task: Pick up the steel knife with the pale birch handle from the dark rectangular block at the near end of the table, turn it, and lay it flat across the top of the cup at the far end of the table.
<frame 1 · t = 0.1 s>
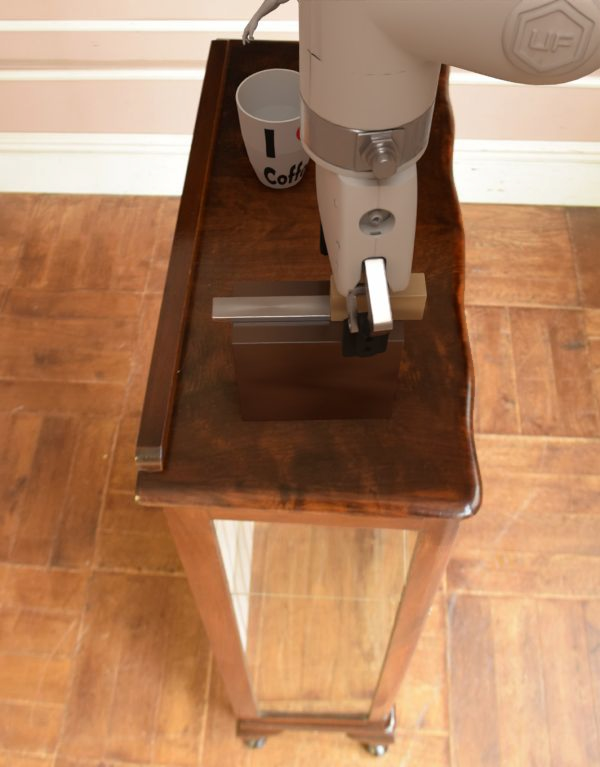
hand: (351, 299, 59), 13 cm above the table, tool pointing down, fingers open, 9 cm apart
knife: (316, 310, 60), point 12 cm above the table, touching dark rectangular block
dark rectangular block: (315, 390, 70), on the table
cup: (280, 173, 85), on the table
figurine: (324, 109, 90), on the table
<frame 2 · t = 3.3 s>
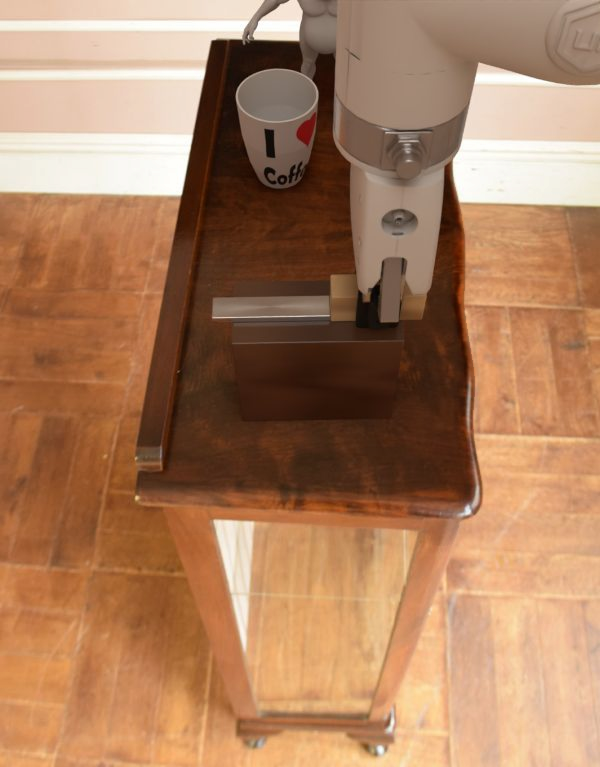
hand: (375, 308, 60), 12 cm above the table, tool pointing down, fingers closed on knife, 2 cm apart
knife: (316, 310, 60), point 12 cm above the table, touching gripper, dark rectangular block
everything else where it was.
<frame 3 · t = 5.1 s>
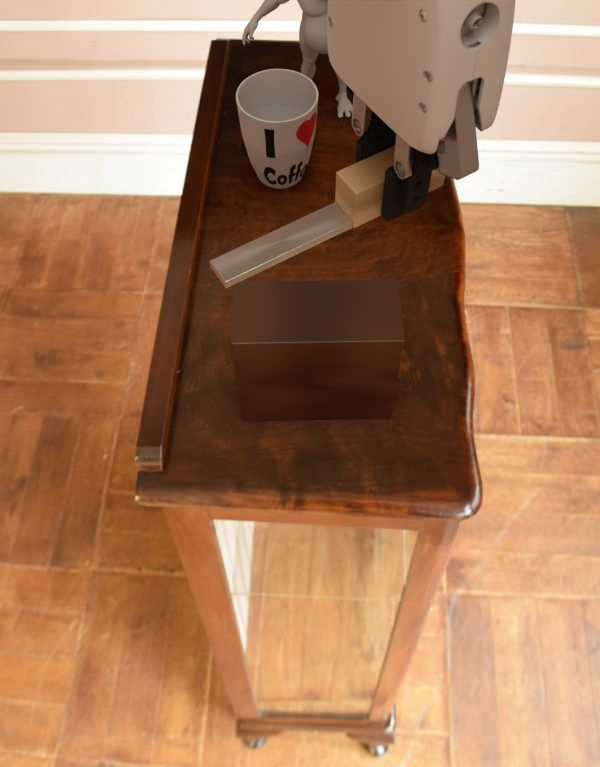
hand: (390, 194, 49), 24 cm above the table, tool pointing down, fingers closed on knife
knife: (330, 224, 48), point 24 cm above the table, touching gripper
everything else where it was.
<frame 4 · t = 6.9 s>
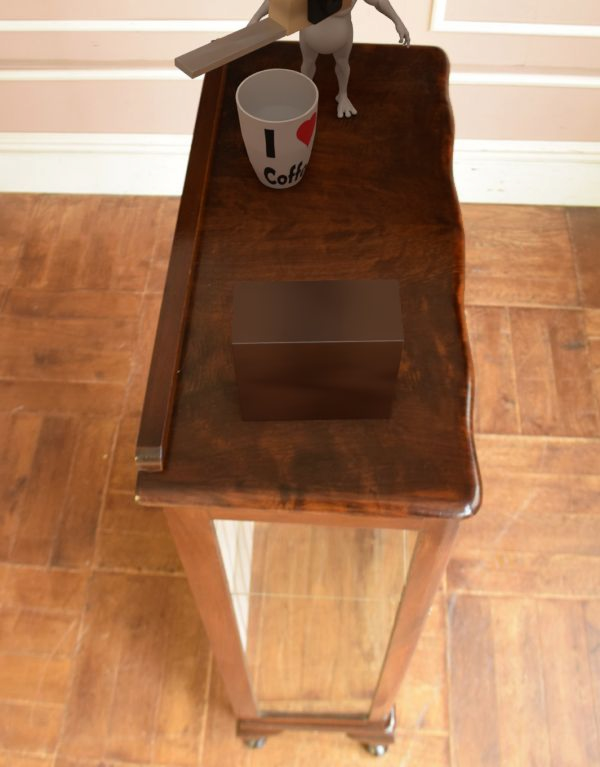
hand: (311, 6, 59), 25 cm above the table, tool pointing down, fingers closed on knife
knife: (267, 34, 58), point 24 cm above the table, tilted 6°, touching gripper
everything else where it was.
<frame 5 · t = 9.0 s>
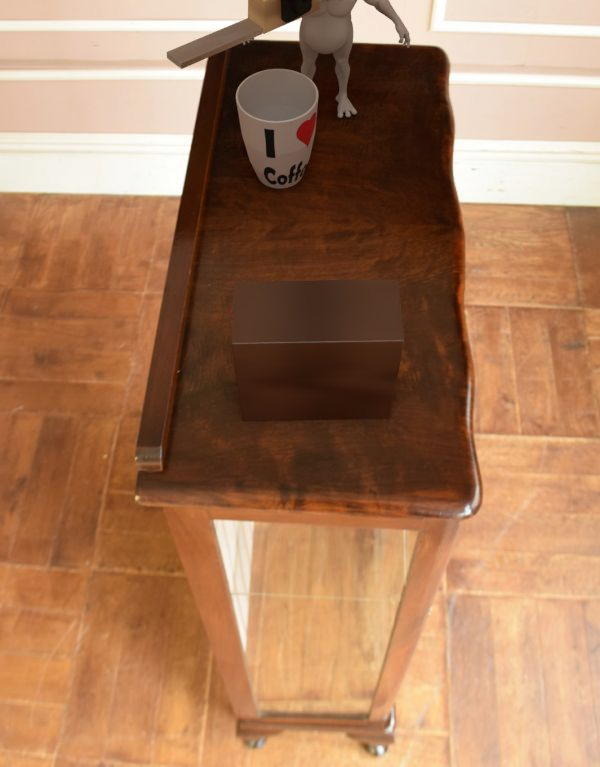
hand: (285, 7, 69), 18 cm above the table, tool pointing down, fingers closed on knife
knife: (246, 32, 68), point 18 cm above the table, tilted 6°, touching gripper
everything else where it was.
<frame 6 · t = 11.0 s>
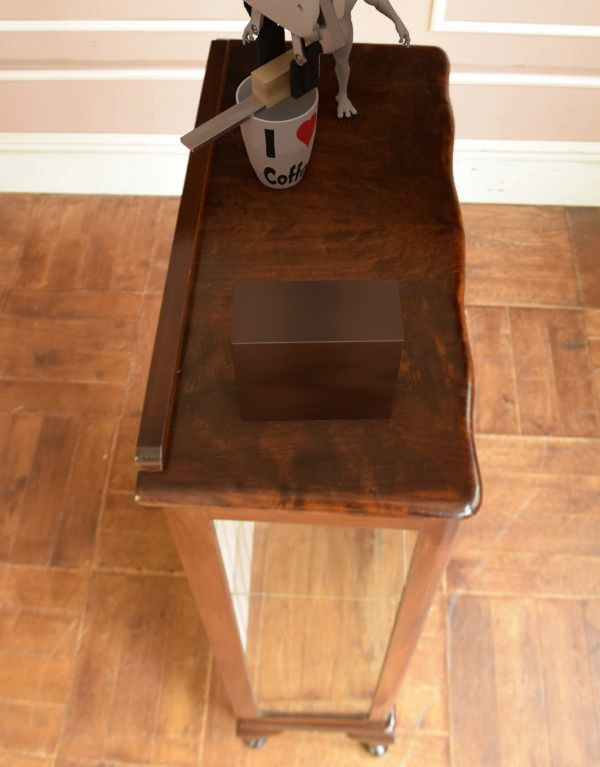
hand: (288, 78, 76), 11 cm above the table, tool pointing down, fingers open, 4 cm apart
knife: (252, 108, 75), point 10 cm above the table, touching cup
cup: (280, 173, 85), on the table, touching knife
everything else where it was.
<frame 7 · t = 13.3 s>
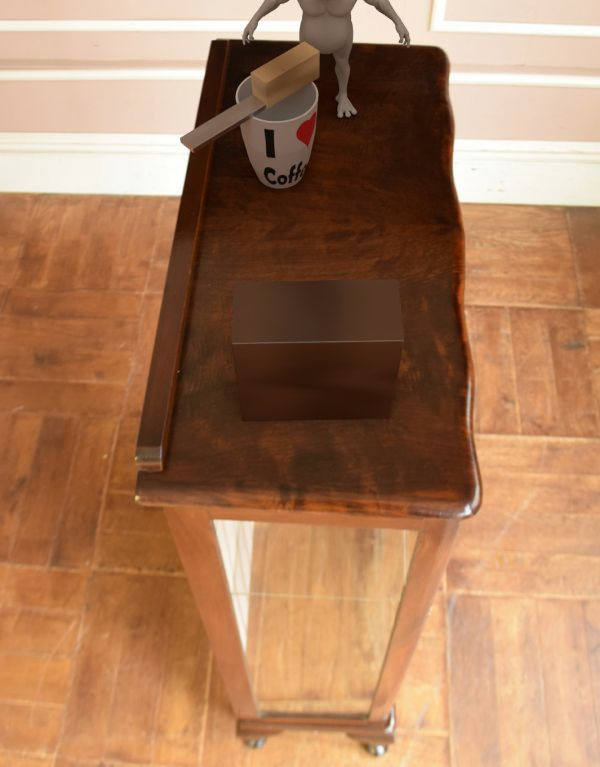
nothing on the table moved.
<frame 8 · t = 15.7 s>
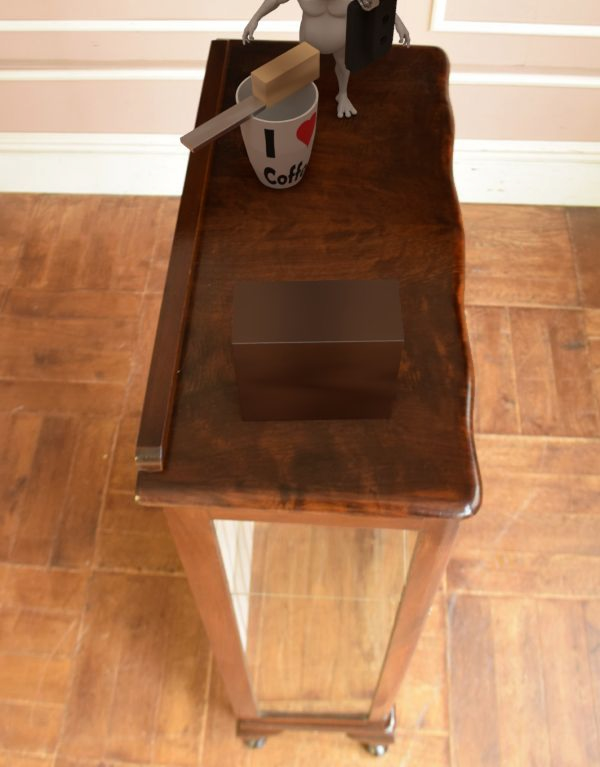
hand: (308, 22, 45), 32 cm above the table, tool pointing down, fingers open, 9 cm apart
nothing on the table moved.
at the end: knife inside the target area on the cup (0.5 cm from its centre), point 10.2 cm above the cup's base; knife tilted 0°; the gripper is holding nothing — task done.
